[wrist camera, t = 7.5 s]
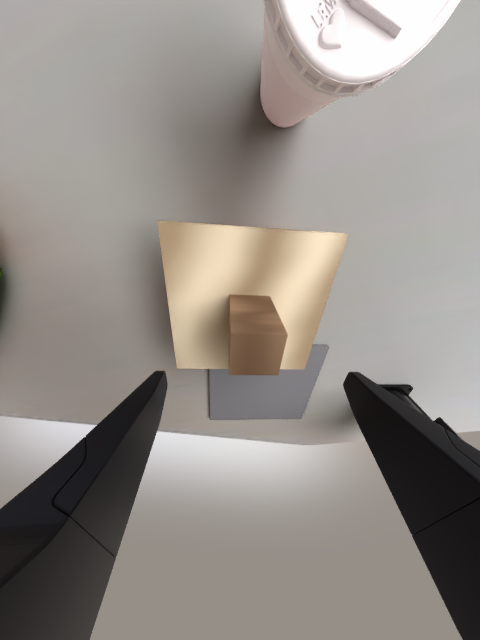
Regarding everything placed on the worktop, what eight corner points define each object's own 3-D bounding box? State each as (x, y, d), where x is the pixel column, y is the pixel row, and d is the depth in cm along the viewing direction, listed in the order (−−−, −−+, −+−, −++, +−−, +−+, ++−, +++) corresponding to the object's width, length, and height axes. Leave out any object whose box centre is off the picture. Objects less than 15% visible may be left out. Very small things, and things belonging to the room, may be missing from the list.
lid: (342, 233, 13) (411, 250, 8) (301, 363, 19) (327, 418, 14) (161, 220, 12) (116, 231, 7) (178, 362, 18) (160, 421, 13)
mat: (327, 344, 25) (329, 347, 24) (300, 415, 32) (301, 418, 32) (209, 342, 24) (208, 345, 23) (210, 417, 31) (210, 419, 31)
